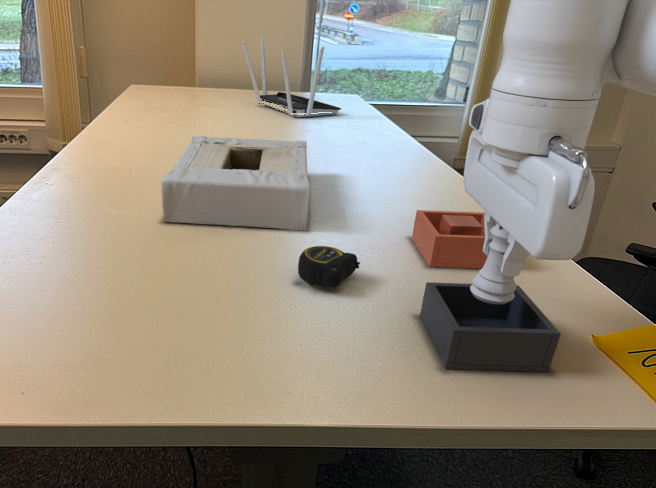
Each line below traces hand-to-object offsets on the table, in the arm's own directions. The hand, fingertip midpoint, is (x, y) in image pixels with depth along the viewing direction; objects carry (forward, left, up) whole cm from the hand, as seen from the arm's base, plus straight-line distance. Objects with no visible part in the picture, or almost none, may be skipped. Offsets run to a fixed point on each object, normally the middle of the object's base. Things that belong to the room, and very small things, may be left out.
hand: (499, 264), depth 59 cm
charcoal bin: (0, 0, -9) cm, 9 cm away
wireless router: (+14, -134, -10) cm, 135 cm away
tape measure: (+15, -14, -10) cm, 23 cm away
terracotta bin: (-5, -25, -9) cm, 27 cm away
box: (+27, -48, -10) cm, 56 cm away
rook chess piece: (0, 0, -4) cm, 4 cm away
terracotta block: (-5, -25, -9) cm, 27 cm away
